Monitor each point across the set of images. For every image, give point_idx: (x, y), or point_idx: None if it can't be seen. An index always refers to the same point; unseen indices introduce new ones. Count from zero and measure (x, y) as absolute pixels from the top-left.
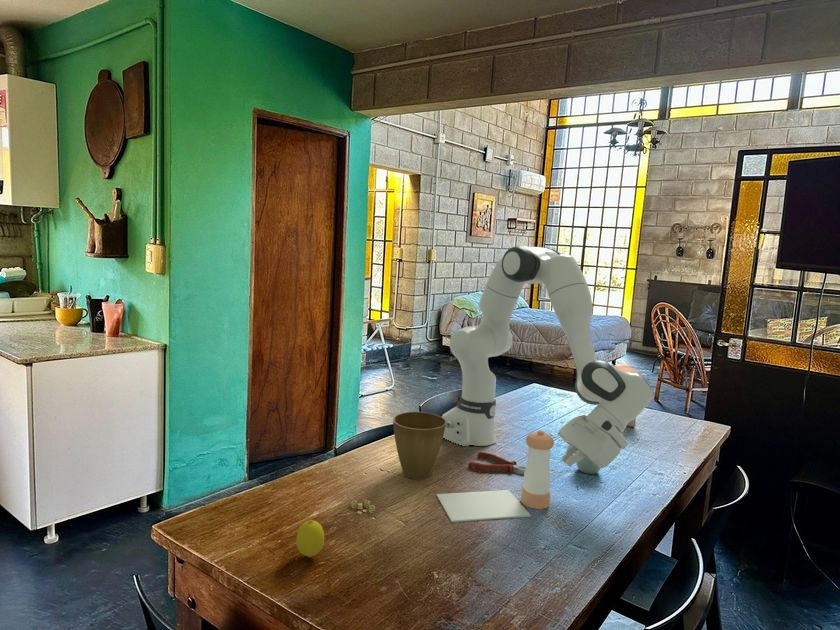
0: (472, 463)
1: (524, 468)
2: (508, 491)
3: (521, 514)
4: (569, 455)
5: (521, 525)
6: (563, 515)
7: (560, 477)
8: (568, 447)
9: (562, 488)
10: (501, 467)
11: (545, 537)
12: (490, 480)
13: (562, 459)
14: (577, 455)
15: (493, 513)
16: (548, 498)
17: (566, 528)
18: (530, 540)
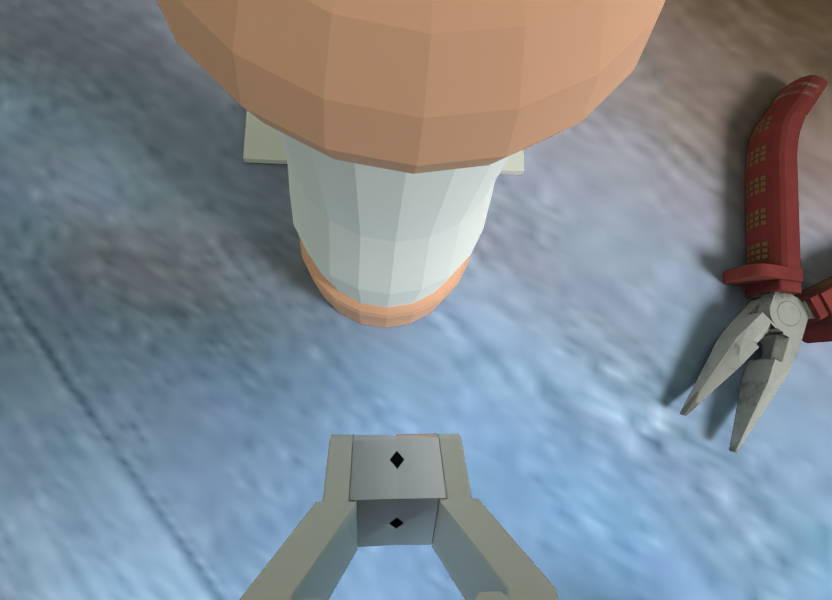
0: (808, 84)
1: (768, 362)
2: (507, 164)
3: (258, 119)
4: (447, 544)
5: (175, 86)
6: (221, 336)
7: (680, 563)
8: (538, 593)
9: (532, 498)
10: (769, 224)
11: (40, 140)
12: (650, 141)
13: (433, 434)
14: (251, 598)
15: None
16: (316, 285)
17: (89, 282)
18: (36, 64)
